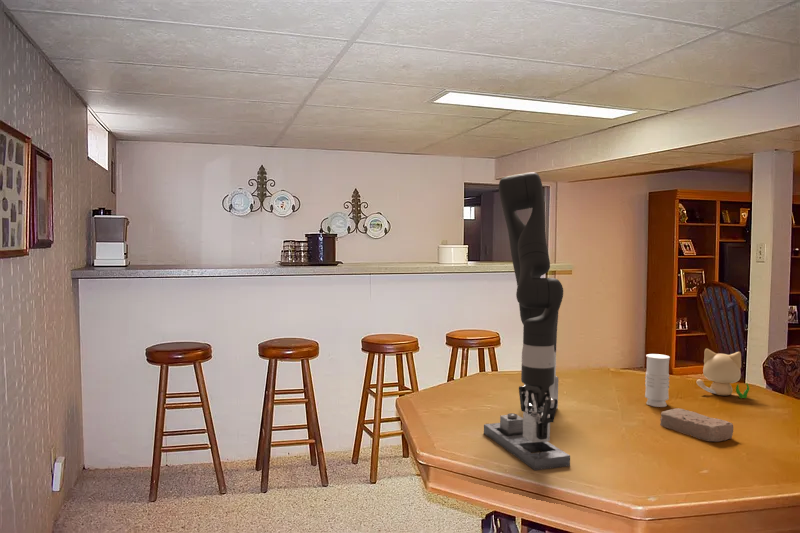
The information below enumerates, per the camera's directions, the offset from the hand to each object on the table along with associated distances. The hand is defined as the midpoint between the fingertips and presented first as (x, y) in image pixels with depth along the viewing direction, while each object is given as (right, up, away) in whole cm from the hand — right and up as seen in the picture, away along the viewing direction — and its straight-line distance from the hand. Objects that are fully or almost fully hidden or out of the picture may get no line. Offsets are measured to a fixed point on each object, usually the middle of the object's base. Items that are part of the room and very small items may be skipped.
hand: (536, 434), depth 143 cm
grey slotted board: (-2, -5, +6) cm, 8 cm away
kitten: (+74, -3, +58) cm, 94 cm away
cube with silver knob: (0, -1, 0) cm, 1 cm away
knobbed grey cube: (-4, -5, +12) cm, 13 cm away
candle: (+47, -3, +46) cm, 66 cm away
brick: (+47, -5, +20) cm, 51 cm away
